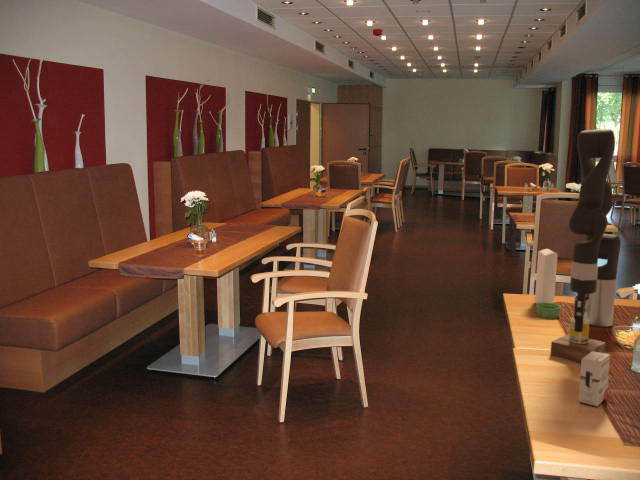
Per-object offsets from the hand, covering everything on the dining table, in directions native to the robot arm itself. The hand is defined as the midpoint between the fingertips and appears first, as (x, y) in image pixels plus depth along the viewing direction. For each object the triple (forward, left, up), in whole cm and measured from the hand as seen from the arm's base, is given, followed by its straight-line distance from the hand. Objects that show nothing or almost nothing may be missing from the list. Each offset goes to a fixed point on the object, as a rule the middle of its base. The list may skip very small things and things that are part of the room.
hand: (579, 328), depth 199 cm
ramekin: (-42, -16, -9) cm, 46 cm away
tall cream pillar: (-54, -20, -9) cm, 59 cm away
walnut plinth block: (0, 0, -9) cm, 9 cm away
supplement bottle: (0, 0, -5) cm, 5 cm away
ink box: (+34, +8, -9) cm, 36 cm away
